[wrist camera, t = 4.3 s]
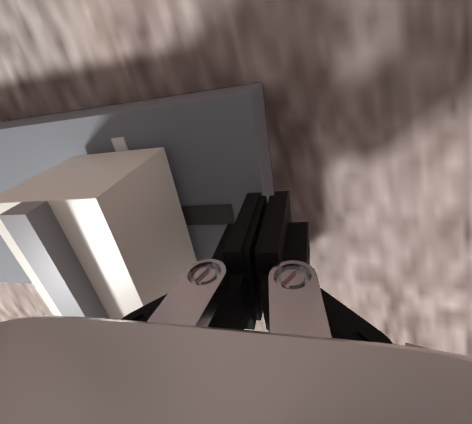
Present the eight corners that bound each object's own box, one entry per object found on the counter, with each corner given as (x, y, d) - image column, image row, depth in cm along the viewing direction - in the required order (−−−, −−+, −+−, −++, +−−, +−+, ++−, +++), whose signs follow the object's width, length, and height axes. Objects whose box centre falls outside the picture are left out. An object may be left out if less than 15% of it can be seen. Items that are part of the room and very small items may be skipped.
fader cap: (163, 146, 12) (76, 212, 8) (201, 276, 15) (155, 374, 11) (74, 155, 13) (-46, 216, 9) (127, 274, 17) (59, 361, 12)
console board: (262, 82, 13) (249, 94, 11) (281, 258, 18) (276, 296, 15) (-112, 138, 20) (-174, 154, 18) (-26, 254, 25) (-65, 279, 22)
